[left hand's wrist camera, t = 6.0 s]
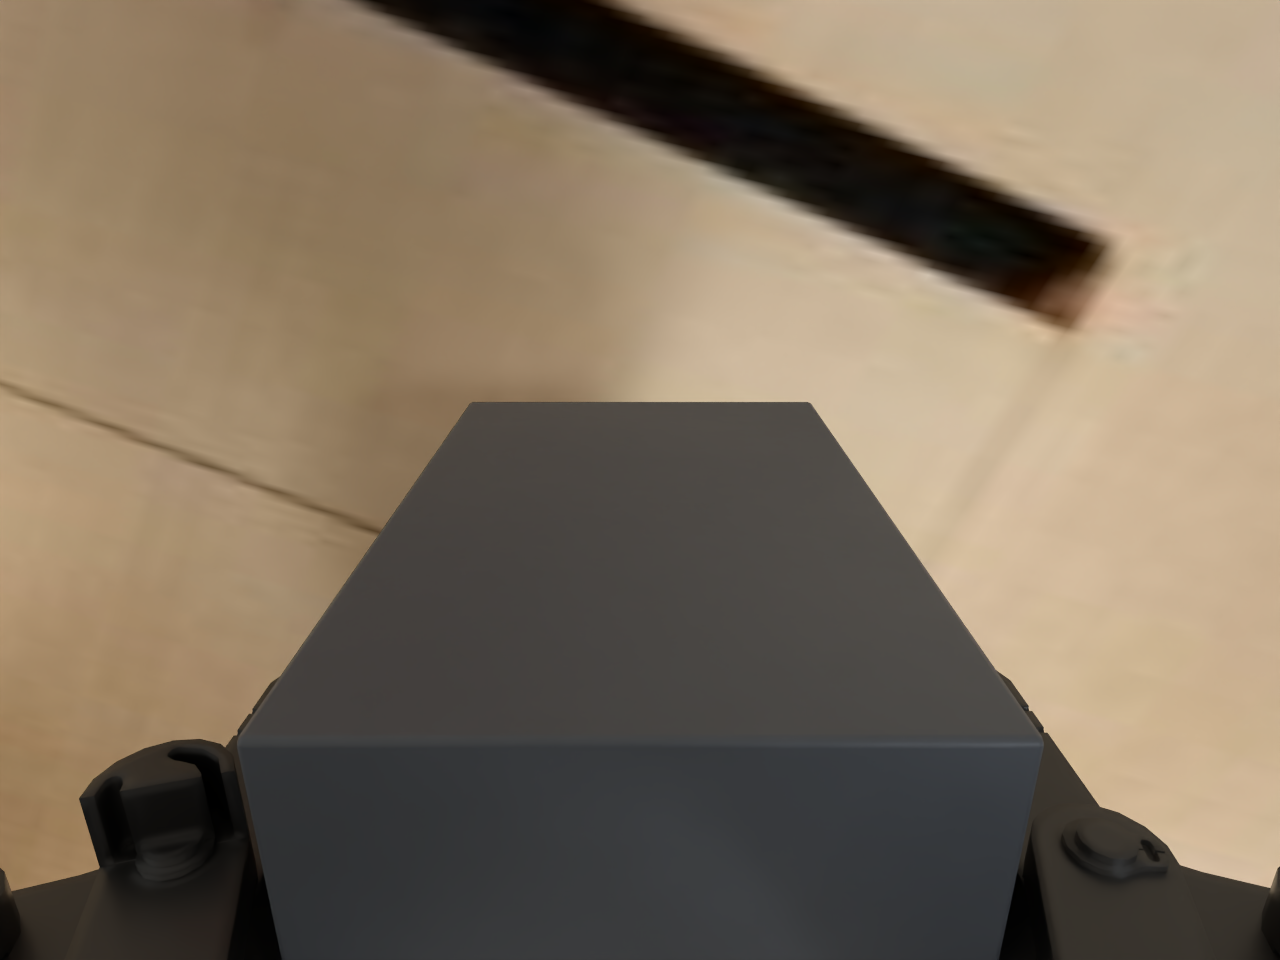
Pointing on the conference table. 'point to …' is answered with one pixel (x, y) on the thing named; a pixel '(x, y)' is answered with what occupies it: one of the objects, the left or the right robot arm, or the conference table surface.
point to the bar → (640, 711)
